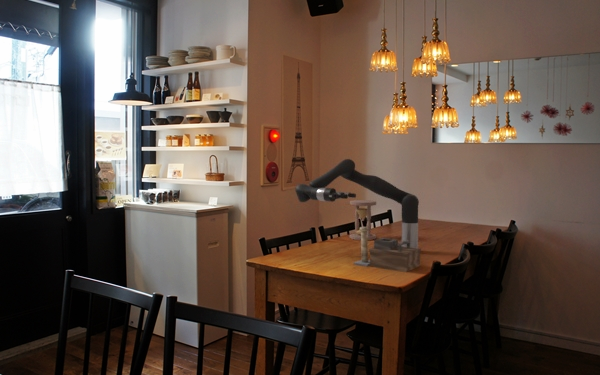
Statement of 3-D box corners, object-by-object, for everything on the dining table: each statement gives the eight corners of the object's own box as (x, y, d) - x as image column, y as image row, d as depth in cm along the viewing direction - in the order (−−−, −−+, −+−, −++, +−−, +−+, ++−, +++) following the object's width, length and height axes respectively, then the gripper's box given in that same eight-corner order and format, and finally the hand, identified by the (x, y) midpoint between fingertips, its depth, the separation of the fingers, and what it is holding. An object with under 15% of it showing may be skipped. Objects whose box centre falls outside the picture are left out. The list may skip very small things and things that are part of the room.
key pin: (363, 260, 271) (362, 226, 270) (370, 261, 269) (369, 227, 268) (359, 262, 268) (358, 227, 267) (366, 262, 266) (365, 228, 264)
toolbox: (383, 260, 276) (384, 236, 275) (420, 266, 264) (421, 240, 263) (368, 266, 262) (368, 240, 261) (406, 272, 250) (407, 245, 249)
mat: (362, 261, 275) (362, 259, 275) (376, 263, 270) (376, 261, 270) (353, 264, 267) (353, 262, 267) (367, 266, 262) (367, 264, 262)
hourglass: (380, 239, 342) (380, 202, 340) (356, 241, 337) (356, 202, 335) (368, 235, 359) (369, 199, 357) (345, 236, 353) (345, 200, 352)
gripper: (319, 188, 284) (344, 190, 274) (333, 187, 295) (358, 188, 286) (319, 202, 284) (344, 204, 275) (333, 200, 296) (358, 202, 286)
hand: (351, 196), depth 280 cm, fingers open, 8 cm apart
